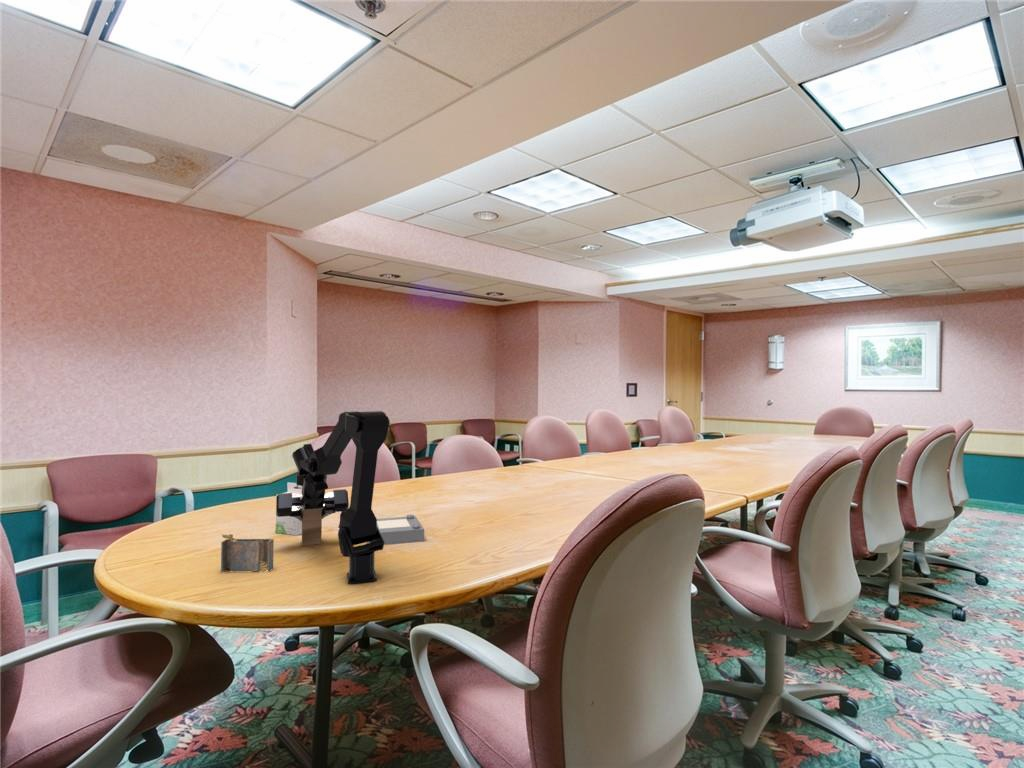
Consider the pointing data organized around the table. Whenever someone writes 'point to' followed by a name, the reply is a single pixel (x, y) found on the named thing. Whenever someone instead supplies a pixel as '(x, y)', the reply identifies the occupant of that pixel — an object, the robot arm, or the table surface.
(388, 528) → the base brick
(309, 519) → the walnut brick
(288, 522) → the ink box
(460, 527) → the table surface
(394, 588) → the table surface
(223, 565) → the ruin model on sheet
